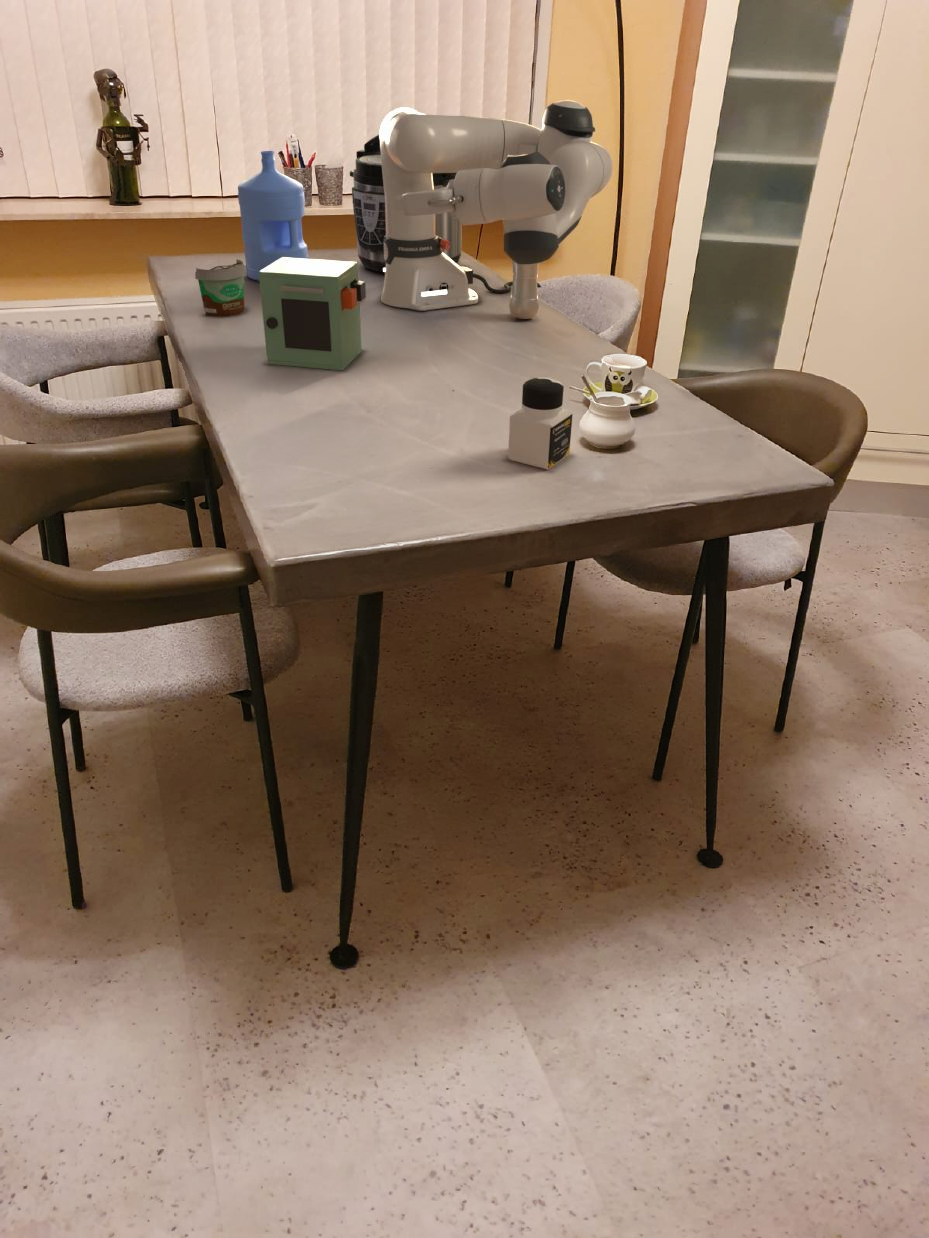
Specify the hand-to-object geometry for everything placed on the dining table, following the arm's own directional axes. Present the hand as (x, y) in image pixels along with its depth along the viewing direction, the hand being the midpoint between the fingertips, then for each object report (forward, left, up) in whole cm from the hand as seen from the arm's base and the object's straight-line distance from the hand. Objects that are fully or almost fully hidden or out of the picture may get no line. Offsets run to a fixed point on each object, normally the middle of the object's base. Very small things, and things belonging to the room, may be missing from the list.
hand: (396, 205), depth 172 cm
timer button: (+8, -3, -17) cm, 19 cm away
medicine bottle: (-8, +52, -28) cm, 60 cm away
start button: (+10, +2, -17) cm, 20 cm away
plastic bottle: (-33, -20, -28) cm, 48 cm away
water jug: (+13, -71, -28) cm, 77 cm away
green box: (+16, -4, -28) cm, 32 cm away
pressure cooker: (-21, -73, -28) cm, 81 cm away
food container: (+28, -40, -28) cm, 56 cm away
